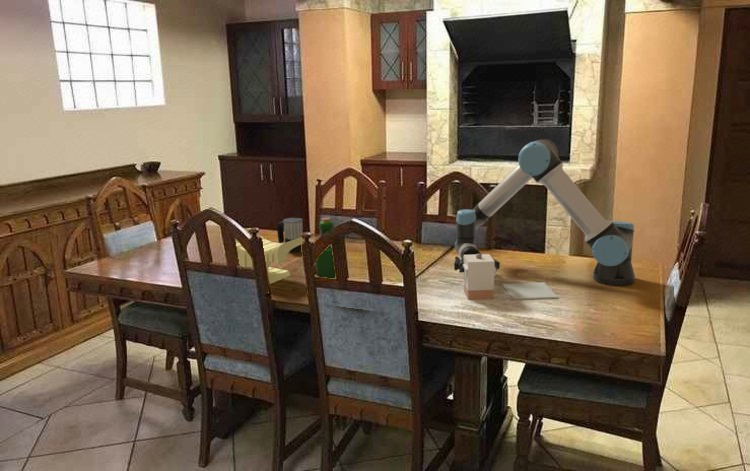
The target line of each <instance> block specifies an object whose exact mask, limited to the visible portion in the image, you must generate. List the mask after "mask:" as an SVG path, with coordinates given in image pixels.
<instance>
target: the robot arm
mask: <svg viewBox="0 0 750 471" xmlns="http://www.w3.org/2000/svg"><path fill="white" fill-rule="evenodd" d="M517 158H518V161H517V162H518V165H517V166H515V168H514V169H513V170H511V171H510V172H509V174H507V175H506V177H504V178H503V179H502V180H501V181H500V182H499V183H498V184H497V185H496V186H495V187H494V188H493V189H492V190H491V191H490V192H489V193H488V194H486V196H484V198H482V199H481V201H479V202H478V204H476V205H475V207H473V208H472V209H468V208H467V209H459V210H457V213H456V218H455V219H456V237H455V238H456V241H455V243H454V250H455V251H456V253H457V254H458V256H455V257H454V263H453V264H454V265H453V269H454V271H458V270H459V271H458V272H459V273H460V274H462V273H463V275H464V274H465V276H466V277H468V269H467V267H466V265H465V264H464V255H474V254H481V252H480V251H479V248H478V247H477V246H476V230H477V229H478V228H480V227H481V226H483V225H484V224H485V223H486V222H487V221H488V220H489V219H490V218H491V217H492V216H494V214H495V213H496V212H498V211H499V209H500V208H502V207H503V206H504V205H505V204H506V203H507V202H508V201H510V199H512V198H513V196H515V195H516V194H517V193H518V192H519V191H520V190H521V189H522V188H524V186H526V184H528V183H529V182H530V181H531V180H532V179H533V180H534V181H535V183H537V184H542V185H544V187H546V189H547V190H548V191H549V192H550V194H551V195H552V196H553V197H554V199H555V200H556V201H557V203H559V205H560V206H561V207H562V208H563V209H564V211H565V212H566V213H567V215H568V216H570V218H571V219H572V220H573V222H574V224H576V225H577V227H578V228H579V229H580V230H581V231H582V233H583V234H584V235H585V236H584V242H585V243H586V244H587V246H588V247H589V248H590V249H591V251H592V252H591V253H592V256H593V258H594V259H595V261H596V262H597V263H596V264H595V267H594V269H593V272H592V279H593V280H594V281H595V282H597V283H600V284H603V285H608V286H609V285H610V286H628V285H633V284H634V283H635V282H634V281H636V280H635V278H636V274H635V272H634V271H635V270H634V267H633V263H632V257H633V256H632V255H633V245H634V244H633V243H634V232H635V226H634V223H632V222H627V221H622V220H621V221H619V220H607V219H605V218H604V217H603V216H602V214H600V212H599V211H598V210H597V209H596V208H595V206H594V205H593V203H591V202H590V201H589V199H588V198H587V197H586V196H585V194H584V193H583V191H581V189H580V188H579V187H578V186H577V185H576V183H575V182H574V181H573V180H572V179H571V178H570V176H569V175H568V174H567V173H566V172H565V170H564V168H563V167H564V162H563V161H562V160H561V159H560V157H559V151H558V148H557V146H556V144H555V143H554V142H553V141H551V140H549V139H547V138H546V139H544V138H542V139H536V140H534V141H531V142H528V143H527V144H525V145H524V146H523V147H522V148H521V149H520V152H519V153H518V157H517ZM492 259H493V260H494V261H495V267H494V277H495V276H496V277H497V272H498V270H500V261H498V260H497V259H495V258H493V257H492Z"/></svg>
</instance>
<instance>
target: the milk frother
mask: <svg viewBox="0 0 750 471" xmlns="http://www.w3.org/2000/svg"><path fill="white" fill-rule="evenodd" d="M303 220H304V219H303V218H301V217H300V218H299V217H288V218H284V219H283V221H279V222H278V223H277V225H276V231H277V232H276V233H277V240H278V243H280V244H282V243H286V242H289V241H292V240H295V239H298V238H300V237H301V236H300V234H301V233H303ZM298 252H302V251H301V245H299V246H296V247H295V248H293V249H292V250H290V251H289V253H298Z"/></svg>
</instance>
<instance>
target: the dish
mask: <svg viewBox="0 0 750 471" xmlns="http://www.w3.org/2000/svg"><path fill="white" fill-rule="evenodd" d="M463 293H464V294H465V296H466V298H467V300H469V301H470V300H472V299H473V300H474V299H475V300H493V299H494V290H470V291H468V290H467V288H466V286H465V284H464V283H463Z"/></svg>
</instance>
